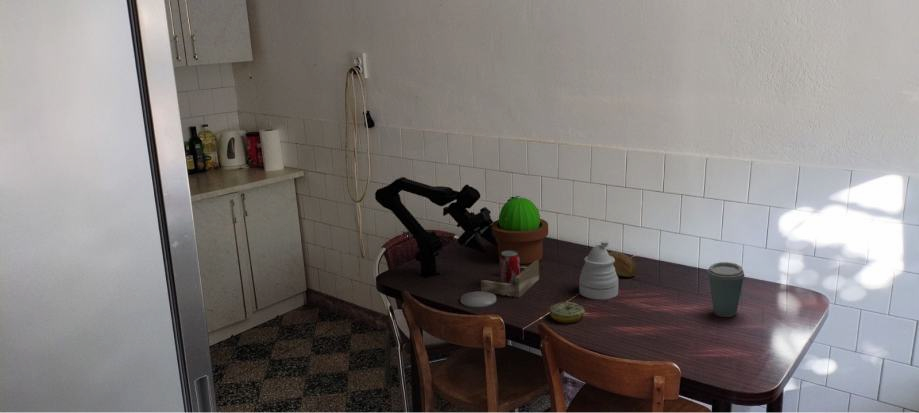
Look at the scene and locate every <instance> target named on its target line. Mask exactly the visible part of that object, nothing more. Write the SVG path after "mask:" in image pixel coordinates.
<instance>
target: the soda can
mask: <svg viewBox="0 0 919 413" xmlns="http://www.w3.org/2000/svg"><path fill="white" fill-rule="evenodd" d="M520 266H521V264H520V258H519V256H518V253H517V252H516V251H511V250H509V251H503V252H502V253H501V256H500V259H499V280H500V281H499V282H501V283H508V284H516V279H515V278H516V277H517V276H518V275H519V274H520Z"/></svg>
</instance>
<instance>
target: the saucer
mask: <svg viewBox="0 0 919 413" xmlns="http://www.w3.org/2000/svg"><path fill="white" fill-rule="evenodd" d="M496 302H497V296H496V294H492V293H490V292H484V291H481V290H479V291H477V290H476V291H471V292H470V291H469V292H467V293H464V294H462V295H461V297H460V303H461V304H462V305H464V306H466V307H470V308H485V307H489V306H492V305H494V304H495V303H496Z"/></svg>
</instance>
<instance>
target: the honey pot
mask: <svg viewBox="0 0 919 413" xmlns="http://www.w3.org/2000/svg"><path fill="white" fill-rule="evenodd" d="M608 246H609V241H608V240H601V241H600V244H596V245H595V246H593V247H592V248H591V249H590V252H589V253H588V255H587V256H585V257H584V265H583V266H582V270H581V274H580V275H579V278H578V279H579V286H578V287H579V294H580V295H581V296H583V297H585V298H586V299H587V298H588V299H591V300H592V299H593V300H609V299H612V298H615V297H617V296H618V294H619V275H616V271H615V267H614V266H613V263H614V262H615V259H614V258H613V257H612V256H609V254H608V253H609V252H608V251H607V249H606V248H607V247H608Z"/></svg>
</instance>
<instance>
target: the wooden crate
mask: <svg viewBox="0 0 919 413" xmlns="http://www.w3.org/2000/svg"><path fill="white" fill-rule="evenodd" d="M539 266H540V260H539V261H538V260H535V261H534V262H533V263H530V264H529V265H528V266H521V265H520V274H519V275H518V276H517V277H516V278H515V279H516V284H508V283H501V281H493V280H492V281H491V280H484V279H481V280H480V291H484V292H490V293H492V294H494V295H498V294H500V296H505V295H507V297H512V296H513V298H520V297H522V296H523V295H524V294H525V293H526V292H527V291H528V290H529V289H530V288H531V287H533V285H534V284H535V283H537V281H539V279H540V267H539Z"/></svg>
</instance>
